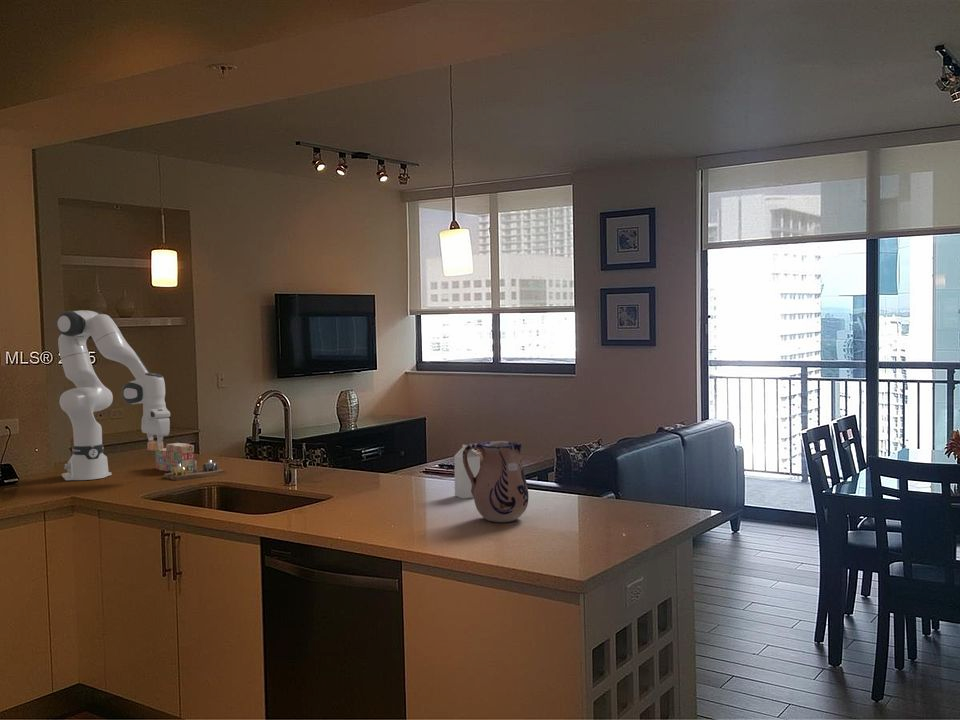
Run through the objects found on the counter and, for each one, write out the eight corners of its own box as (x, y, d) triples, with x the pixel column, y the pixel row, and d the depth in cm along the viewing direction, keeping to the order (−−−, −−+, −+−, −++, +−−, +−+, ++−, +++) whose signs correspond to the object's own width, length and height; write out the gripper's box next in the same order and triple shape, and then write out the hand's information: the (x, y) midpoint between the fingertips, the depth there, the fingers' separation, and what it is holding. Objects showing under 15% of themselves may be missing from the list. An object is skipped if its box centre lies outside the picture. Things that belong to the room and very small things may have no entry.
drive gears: (168, 474, 361) (168, 463, 360) (213, 468, 375) (213, 458, 374) (175, 476, 356) (175, 465, 356) (220, 470, 370) (220, 459, 370)
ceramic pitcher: (532, 525, 266) (531, 445, 265) (465, 527, 264) (464, 447, 263) (524, 513, 283) (524, 438, 282) (462, 515, 282) (461, 440, 281)
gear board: (164, 477, 362) (163, 462, 362) (212, 470, 377) (212, 456, 377) (176, 480, 353) (176, 465, 353) (225, 474, 369) (225, 459, 368)
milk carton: (463, 499, 308) (462, 447, 307) (454, 495, 314) (454, 445, 314) (480, 497, 311) (479, 445, 311) (471, 494, 318) (471, 443, 317)
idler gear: (144, 449, 352) (144, 442, 352) (159, 447, 357) (159, 440, 356) (151, 450, 348) (150, 443, 348) (166, 449, 352) (165, 442, 352)
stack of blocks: (155, 469, 384) (154, 442, 383) (167, 467, 389) (167, 441, 388) (182, 474, 371) (181, 446, 370) (194, 472, 376) (194, 444, 375)
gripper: (137, 411, 357) (137, 443, 357) (157, 414, 342) (157, 448, 343) (151, 409, 361) (152, 442, 362) (172, 413, 346) (173, 446, 347)
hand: (155, 445), depth 352 cm, fingers closed on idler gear, 6 cm apart
